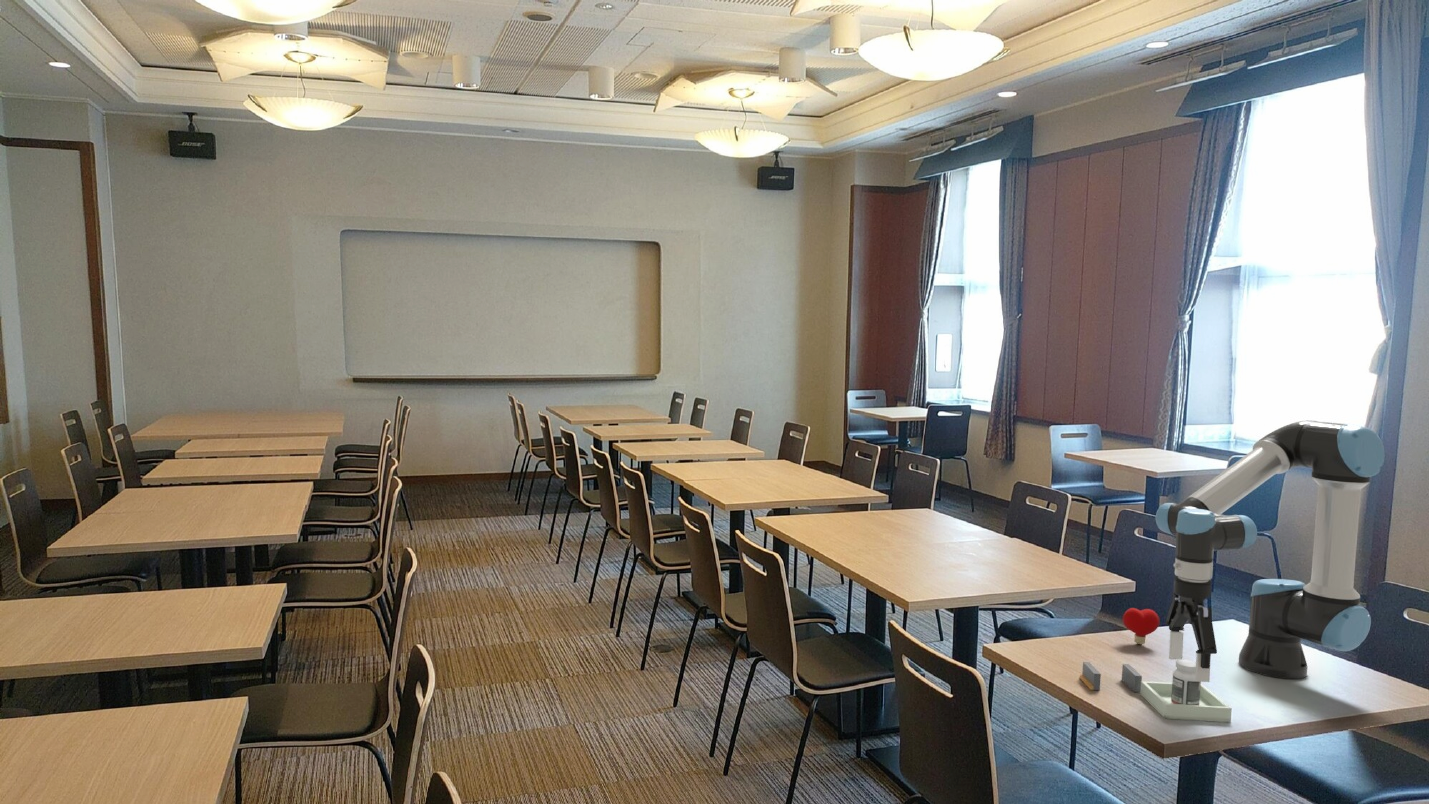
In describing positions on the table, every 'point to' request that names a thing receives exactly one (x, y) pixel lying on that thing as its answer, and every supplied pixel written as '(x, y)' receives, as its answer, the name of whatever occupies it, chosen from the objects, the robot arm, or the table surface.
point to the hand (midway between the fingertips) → (1188, 669)
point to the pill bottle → (1185, 684)
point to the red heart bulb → (1141, 623)
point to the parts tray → (1205, 711)
